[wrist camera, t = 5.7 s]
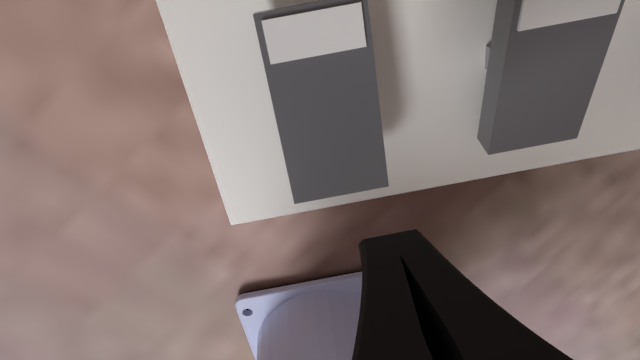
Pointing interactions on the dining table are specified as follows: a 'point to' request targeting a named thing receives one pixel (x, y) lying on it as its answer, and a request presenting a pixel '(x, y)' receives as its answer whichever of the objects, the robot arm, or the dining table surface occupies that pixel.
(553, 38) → the block
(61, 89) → the dining table surface
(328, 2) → the block
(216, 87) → the switch panel
